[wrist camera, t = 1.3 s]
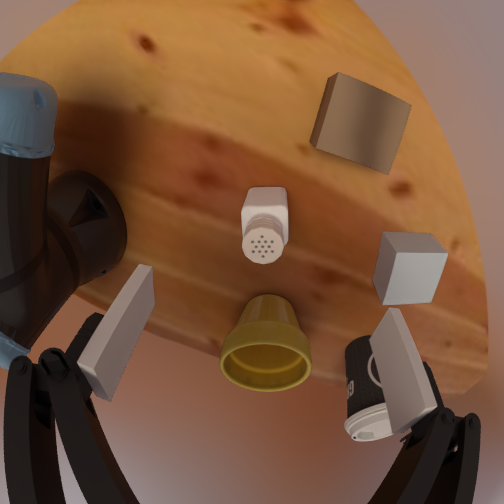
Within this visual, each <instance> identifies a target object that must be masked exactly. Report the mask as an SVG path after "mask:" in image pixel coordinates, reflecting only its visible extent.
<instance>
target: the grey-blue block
mask: <svg viewBox="0 0 504 504" xmlns="http://www.w3.org/2000/svg"><path fill="white" fill-rule="evenodd" d="M447 256H448V252H447V251H446V250H445V249H444V248H443V246H442V245H441V244H440V243H439V242H438V241H437V240H436V239H435V238H434V237H433V235H432V234H431V233H411V232H384V231H383V232H382V238H381V243H380V248H379V253H378V258H377V262H376V267H375V271H374V276H373V280H372V281H373V283H374V286H375V288H376V291H377V293H378V296H379V298H380V301H381V303H382V305H396V304H414V303H429V302H431V300H432V298H433V295H434V293H435V290H436V288H437V285H438V282H439V280H440V277H441V274H442V271H443V268H444V265H445V262H446V259H447Z"/></svg>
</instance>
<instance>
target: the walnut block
mask: <svg viewBox="0 0 504 504" xmlns="http://www.w3.org/2000/svg"><path fill="white" fill-rule="evenodd" d="M411 106H412V105H411V104H409V103H407V102H405V101H403V100H401V99H399V98H397V97H395V96H393V95H391V94H389V93H387V92H385V91H383V90H381V89H378V88H376V87H374V86H372V85H369V84H367V83H365V82H362V81H360V80H358V79H355V78H353V77H350V76H347V75H345V74H342V73H339V72H338V73H336V74H334V75H333V76H331V77H329V78H328V80H327V84H326V87H325V91H324V94H323V98H322V101H321V104H320V108H319V111H318V114H317V118H316V121H315V124H314V128H313V131H312V134H311V138H310V143H311V144H312V145H313V146H314V147H315V148H317V149H320V150H323V151H326V152H329V153H332V154H335V155H337V156H340V157H343V158H346V159H349V160H351V161H354V162H357V163H359V164H362V165H364V166H367V167H369V168H372V169H374V170H377V171H379V172H382V173H384V174H386V175H389V172H390V170H391V167H392V164H393V161H394V159H395V156H396V153H397V150H398V147H399V144H400V141H401V138H402V135H403V132H404V129H405V126H406V123H407V120H408V116H409V113H410V110H411Z"/></svg>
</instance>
